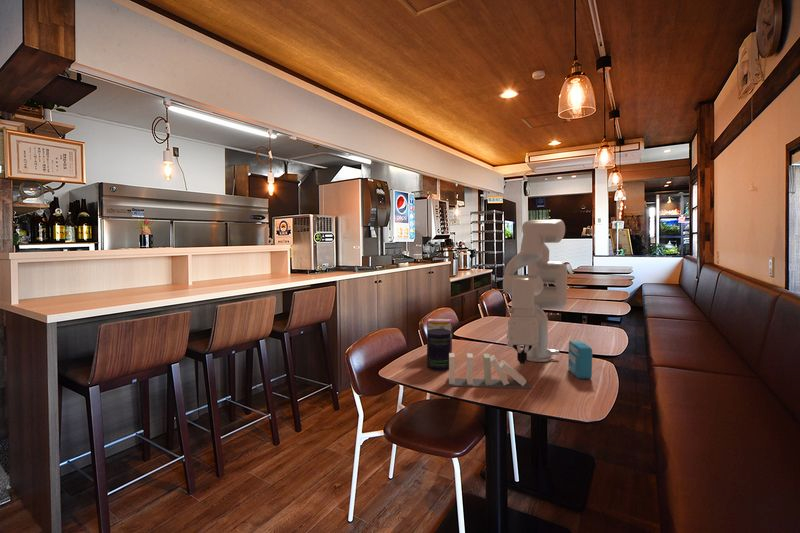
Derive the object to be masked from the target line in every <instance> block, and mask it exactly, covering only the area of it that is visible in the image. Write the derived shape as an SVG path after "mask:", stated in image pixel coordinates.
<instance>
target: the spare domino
mask: <svg viewBox="0 0 800 533" xmlns="http://www.w3.org/2000/svg"><path fill="white" fill-rule="evenodd" d="M490 356H491V355H490V353H483V354H482V357H483V358H482V359H483V360H482V361H483V379H484V381H485V384H486V385H491V379H492V369H491V368H492V365H491V364H492V363H491V361H490Z"/></svg>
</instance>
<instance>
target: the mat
mask: <svg viewBox="0 0 800 533" xmlns="http://www.w3.org/2000/svg"><path fill="white" fill-rule="evenodd" d="M525 380H526V379H525ZM508 382H509V384H507V385H505V386H504V385H503V383H502V381H501V379H496V378H495V379H493V378H491V385H486V384H485V381H484V378H473V385H467V378H457V377H455V384H449V377H447V378H446V386H447V387H457V386H458V387H459V388H460V387H462V388H463V387H465V388H495V389H521V390H522V389H523V390H524V389H527V390H528V389H529V390H532V389H533V387H532V385H531V383H530V381H529V380H526V383H525V385H524V386H522V385H521V384H519V383H518V382H517V381H516V380H515V379H508Z"/></svg>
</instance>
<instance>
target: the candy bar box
mask: <svg viewBox="0 0 800 533" xmlns="http://www.w3.org/2000/svg"><path fill="white" fill-rule="evenodd" d="M426 320H427V322H426V323H427V324H426V326H427V328H426V332H427V331H428V330H431V329H446V330H449V331H451V334H450V335H451V345H450V353H453V352H452V351H453V349H452V348H453V319H448V318H446V319H445V318H444V319H443V318H427V319H426ZM427 354H428V345H427V344H426V355H427Z"/></svg>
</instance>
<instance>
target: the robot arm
mask: <svg viewBox="0 0 800 533" xmlns="http://www.w3.org/2000/svg"><path fill="white" fill-rule="evenodd" d="M521 226H522V227H521V232H522V239H521V244H520V250H519V252H518V253H517V254H516V255H514V256H513V257H512V258H511V259H510V260H509V262H508V263H507V265H506V266H505V269H504V272H503V273H504V274H503V280H502V289H503V291H504V293H505V294H508V295H511V307H510V308H507V313H508V314H511V315H509V318H508V324H507V333H506V336H507V338H506V339H507V342H506V346H507V347H509V348H513V349H514V351H516V352H517V357H516V359H517V360H516V361H517V362H519V365H526V362H527V361H529V362H533V363H543V362H544V363H545V362H550V361H551V360H552V356H553V355H554V356H560V350H556V349H549V346H548V345H549V318H548V315H547V314H546V312H545V311H544V309H545V310H563V309H565V307H566V305H567V302H568V301H567V298H568V297H567V295H568V294H567V293H568V269H567V265H566V264H565V263H564V262H562V261H550V249H549V247H548V246H547V244H555V243H560V242H561V241H562V240H563V239H564V237H565V234H566V225H565V221H564V220H562V219H531V220H526V221H525V222H523V224H522V225H521ZM524 267H527V274H516V271H518V270H520V269H522V268H524ZM544 284H549V285H551V284H553V285H555V286H545V285H544ZM522 346H523V347H522ZM521 347H522V348H521Z"/></svg>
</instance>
